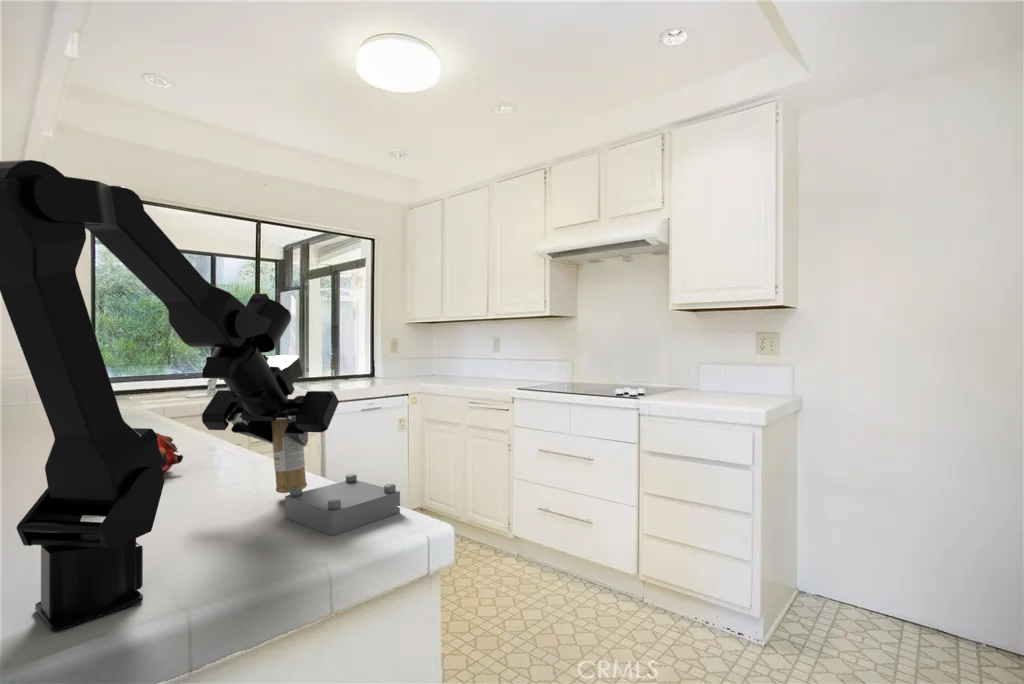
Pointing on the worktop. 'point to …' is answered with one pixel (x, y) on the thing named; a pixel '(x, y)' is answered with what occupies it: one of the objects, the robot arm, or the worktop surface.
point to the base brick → (342, 505)
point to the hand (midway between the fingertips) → (292, 443)
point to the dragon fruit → (168, 452)
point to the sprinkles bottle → (287, 459)
